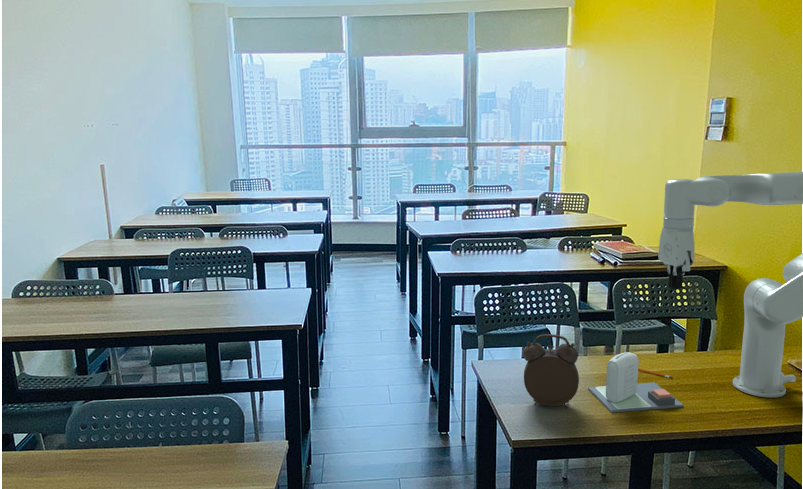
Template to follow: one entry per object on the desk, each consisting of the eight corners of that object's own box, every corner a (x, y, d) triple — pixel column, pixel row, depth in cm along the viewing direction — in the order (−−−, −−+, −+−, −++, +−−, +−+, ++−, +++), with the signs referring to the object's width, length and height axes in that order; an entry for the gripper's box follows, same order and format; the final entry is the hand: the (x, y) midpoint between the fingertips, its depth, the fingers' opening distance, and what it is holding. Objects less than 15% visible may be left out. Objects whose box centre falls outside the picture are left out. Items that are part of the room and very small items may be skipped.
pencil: (671, 379, 163) (671, 377, 163) (608, 364, 175) (608, 361, 175) (672, 379, 163) (672, 376, 163) (609, 363, 176) (609, 361, 176)
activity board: (654, 384, 159) (654, 376, 159) (683, 406, 146) (683, 398, 145) (588, 389, 157) (588, 381, 157) (611, 412, 144) (611, 404, 143)
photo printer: (625, 388, 156) (627, 347, 153) (639, 394, 152) (641, 351, 150) (602, 398, 150) (604, 356, 148) (616, 404, 146) (618, 361, 144)
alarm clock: (577, 400, 151) (579, 331, 147) (578, 413, 144) (580, 340, 140) (523, 395, 155) (524, 328, 151) (521, 407, 148) (522, 337, 144)
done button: (663, 396, 150) (663, 388, 149) (670, 401, 147) (670, 394, 146) (652, 397, 149) (652, 389, 149) (658, 402, 146) (659, 395, 146)
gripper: (650, 221, 159) (647, 282, 162) (682, 228, 144) (679, 296, 147) (674, 219, 159) (671, 280, 163) (709, 227, 145) (705, 294, 148)
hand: (675, 287), depth 155 cm, fingers closed
